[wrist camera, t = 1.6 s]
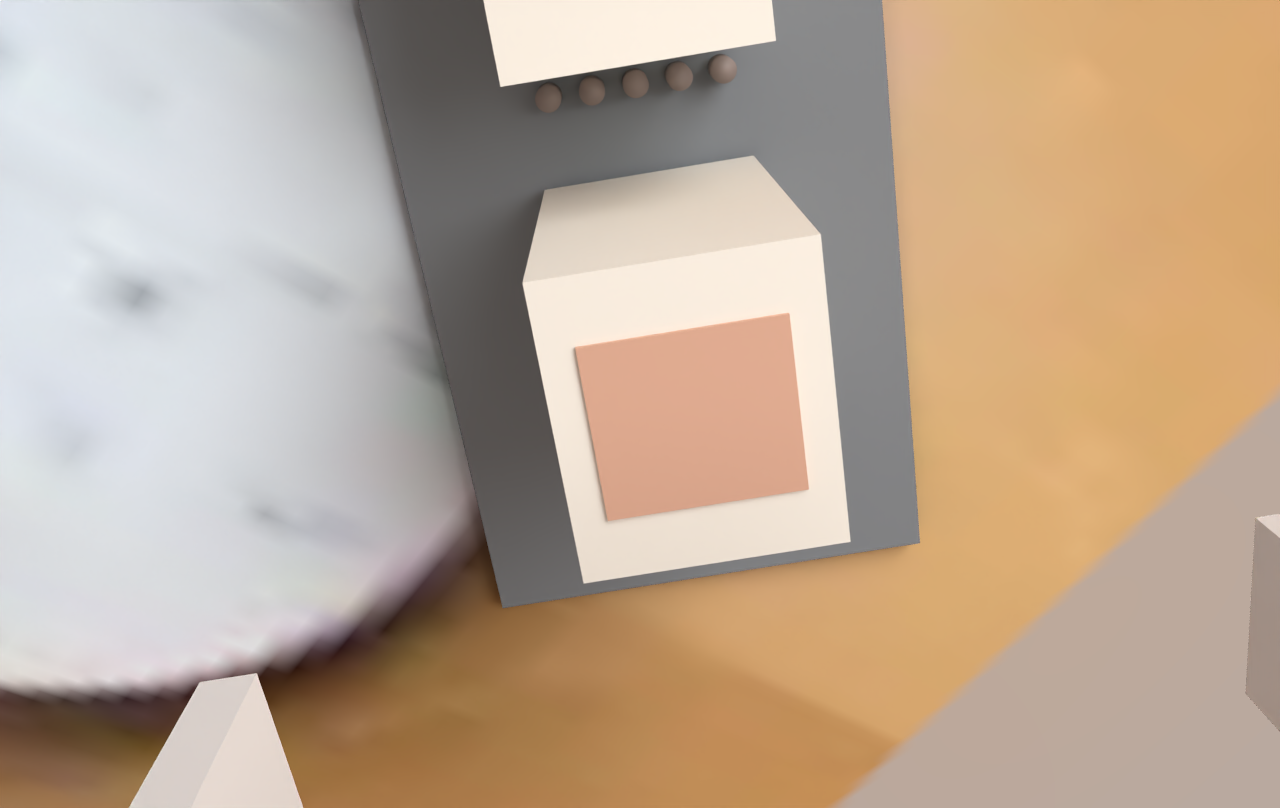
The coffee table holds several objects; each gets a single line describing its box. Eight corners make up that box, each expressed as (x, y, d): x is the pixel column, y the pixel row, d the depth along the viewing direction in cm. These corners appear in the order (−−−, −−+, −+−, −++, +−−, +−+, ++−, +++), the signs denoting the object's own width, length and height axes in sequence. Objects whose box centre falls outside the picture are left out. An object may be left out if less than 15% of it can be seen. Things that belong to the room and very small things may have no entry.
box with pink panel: (587, 414, 34) (583, 585, 24) (544, 189, 31) (522, 284, 22) (780, 383, 33) (851, 544, 24) (753, 155, 31) (821, 235, 22)
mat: (504, 598, 37) (502, 608, 36) (261, -428, 26) (254, -436, 26) (914, 534, 37) (919, 543, 36) (839, -531, 26) (844, -542, 25)
